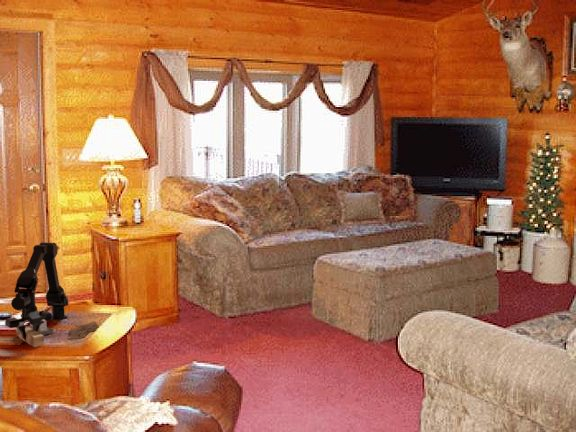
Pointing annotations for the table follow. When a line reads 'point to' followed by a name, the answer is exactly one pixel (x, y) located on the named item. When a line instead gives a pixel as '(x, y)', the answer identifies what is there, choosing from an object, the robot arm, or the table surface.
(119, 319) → the table surface
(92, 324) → the wooden fragment
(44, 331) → the balance ridge
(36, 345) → the birch rod
